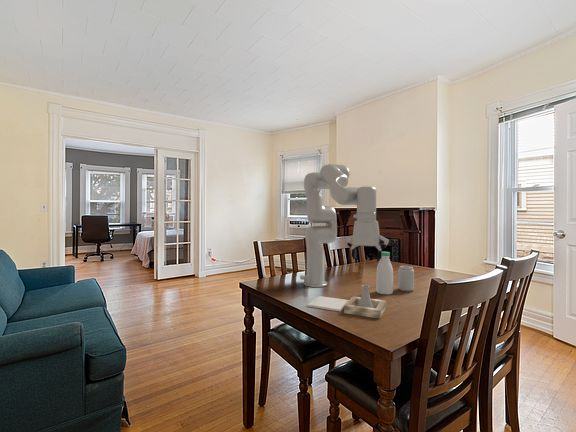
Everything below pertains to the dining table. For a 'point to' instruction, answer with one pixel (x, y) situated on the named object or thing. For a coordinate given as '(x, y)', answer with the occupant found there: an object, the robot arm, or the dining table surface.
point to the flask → (365, 297)
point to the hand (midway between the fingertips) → (366, 259)
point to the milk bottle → (384, 275)
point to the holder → (365, 308)
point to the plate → (328, 303)
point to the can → (406, 278)
